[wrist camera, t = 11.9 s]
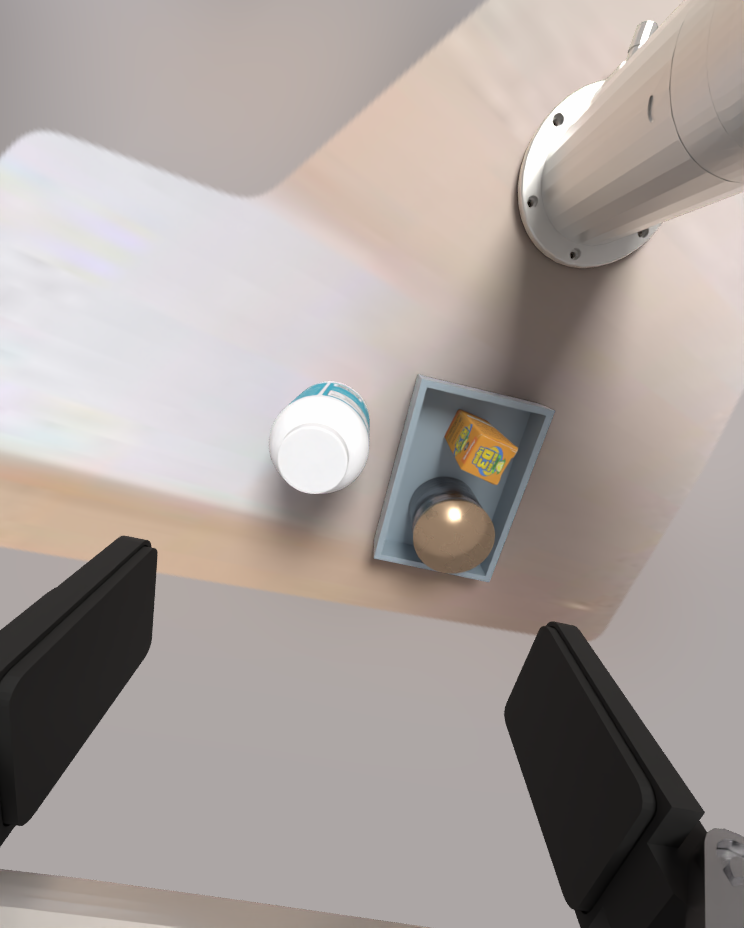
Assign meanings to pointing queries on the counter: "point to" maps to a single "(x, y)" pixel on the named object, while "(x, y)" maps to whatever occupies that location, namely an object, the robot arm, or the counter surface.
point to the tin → (449, 526)
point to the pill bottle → (321, 438)
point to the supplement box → (479, 447)
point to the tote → (432, 457)
